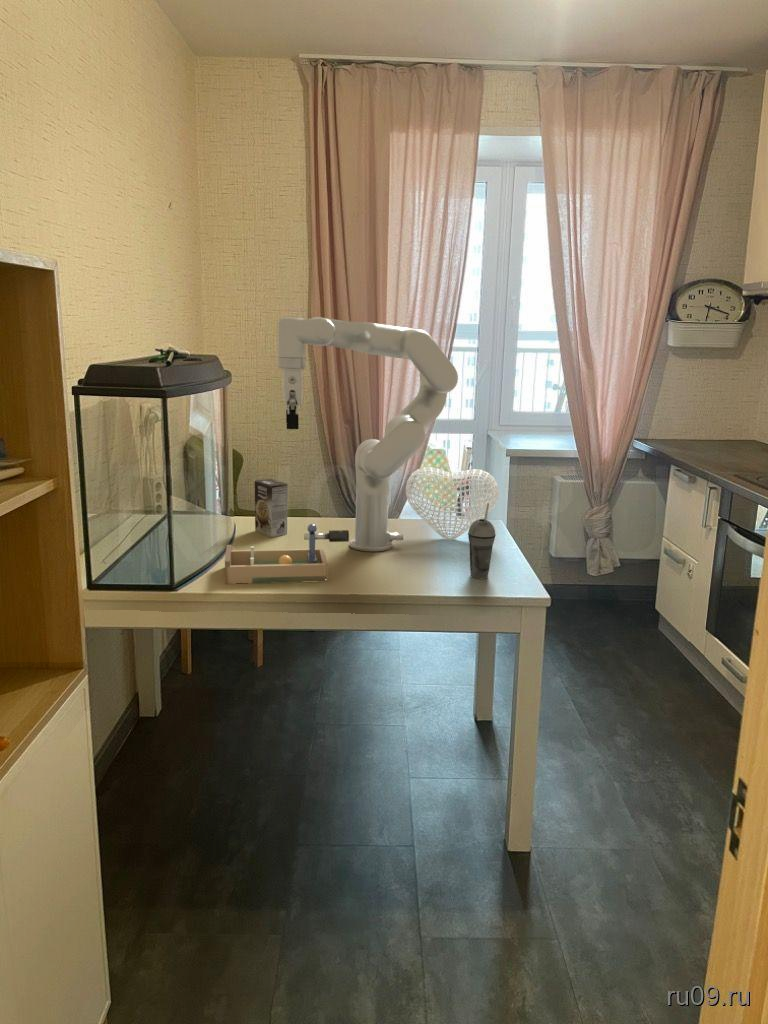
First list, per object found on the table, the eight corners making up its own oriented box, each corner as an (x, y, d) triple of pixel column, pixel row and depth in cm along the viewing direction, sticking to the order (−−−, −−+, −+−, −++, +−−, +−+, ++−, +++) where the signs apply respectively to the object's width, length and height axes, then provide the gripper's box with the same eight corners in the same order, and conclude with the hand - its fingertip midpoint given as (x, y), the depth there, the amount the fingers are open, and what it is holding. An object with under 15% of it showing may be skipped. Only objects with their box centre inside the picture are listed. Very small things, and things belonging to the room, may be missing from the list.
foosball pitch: (323, 564, 215) (323, 543, 214) (327, 581, 202) (328, 559, 200) (227, 566, 211) (226, 544, 210) (225, 584, 198) (224, 561, 196)
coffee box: (254, 531, 245) (253, 480, 241) (271, 527, 249) (270, 477, 245) (271, 537, 238) (270, 485, 234) (288, 534, 242) (288, 483, 238)
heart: (494, 535, 248) (498, 465, 242) (496, 549, 233) (501, 476, 227) (405, 530, 250) (408, 461, 245) (401, 544, 235) (404, 471, 230)
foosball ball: (291, 565, 208) (291, 553, 207) (292, 570, 205) (292, 557, 204) (278, 566, 208) (278, 553, 207) (278, 570, 204) (278, 557, 204)
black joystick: (346, 561, 212) (347, 519, 209) (349, 569, 206) (349, 527, 203) (303, 562, 210) (303, 520, 208) (305, 570, 204) (305, 527, 201)
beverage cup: (464, 571, 213) (468, 499, 208) (491, 572, 212) (496, 500, 207) (466, 580, 206) (470, 506, 201) (494, 581, 205) (499, 507, 200)
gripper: (307, 366, 207) (306, 431, 211) (304, 362, 223) (304, 422, 228) (278, 366, 206) (278, 431, 210) (278, 361, 222) (278, 421, 227)
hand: (292, 426), depth 219 cm, fingers open, 9 cm apart
